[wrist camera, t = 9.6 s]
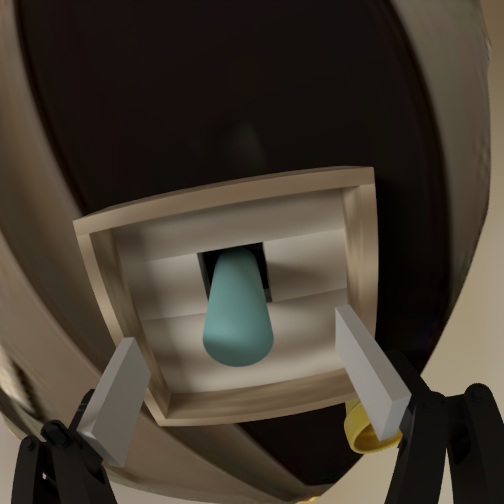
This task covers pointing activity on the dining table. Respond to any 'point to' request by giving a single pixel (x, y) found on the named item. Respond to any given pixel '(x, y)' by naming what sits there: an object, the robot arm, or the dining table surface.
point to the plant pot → (364, 430)
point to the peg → (237, 311)
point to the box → (277, 295)
